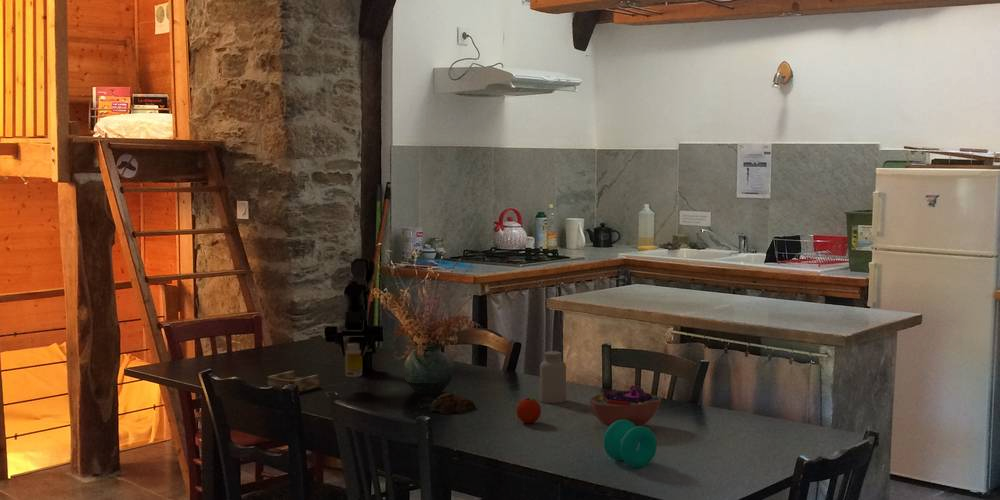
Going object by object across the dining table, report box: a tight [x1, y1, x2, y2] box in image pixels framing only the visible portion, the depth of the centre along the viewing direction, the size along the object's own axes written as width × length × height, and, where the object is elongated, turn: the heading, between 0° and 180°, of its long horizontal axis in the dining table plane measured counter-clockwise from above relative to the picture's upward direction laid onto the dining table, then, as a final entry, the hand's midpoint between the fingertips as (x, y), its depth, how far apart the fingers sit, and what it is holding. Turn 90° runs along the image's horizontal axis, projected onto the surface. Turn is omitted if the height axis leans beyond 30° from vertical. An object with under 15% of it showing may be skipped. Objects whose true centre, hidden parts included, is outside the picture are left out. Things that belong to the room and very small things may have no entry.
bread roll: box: [429, 392, 476, 415], centre depth 304 cm, size 13×12×5 cm
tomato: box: [515, 397, 544, 424], centre depth 288 cm, size 8×7×7 cm
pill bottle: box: [539, 350, 567, 405], centre depth 313 cm, size 8×8×15 cm
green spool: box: [603, 420, 658, 469], centre depth 249 cm, size 10×10×10 cm
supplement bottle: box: [344, 342, 363, 378], centre depth 328 cm, size 6×6×10 cm
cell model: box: [589, 385, 662, 427], centre depth 282 cm, size 17×20×11 cm
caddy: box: [265, 370, 320, 393], centre depth 333 cm, size 12×12×4 cm
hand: (352, 355), depth 327 cm, fingers closed on supplement bottle, 6 cm apart
